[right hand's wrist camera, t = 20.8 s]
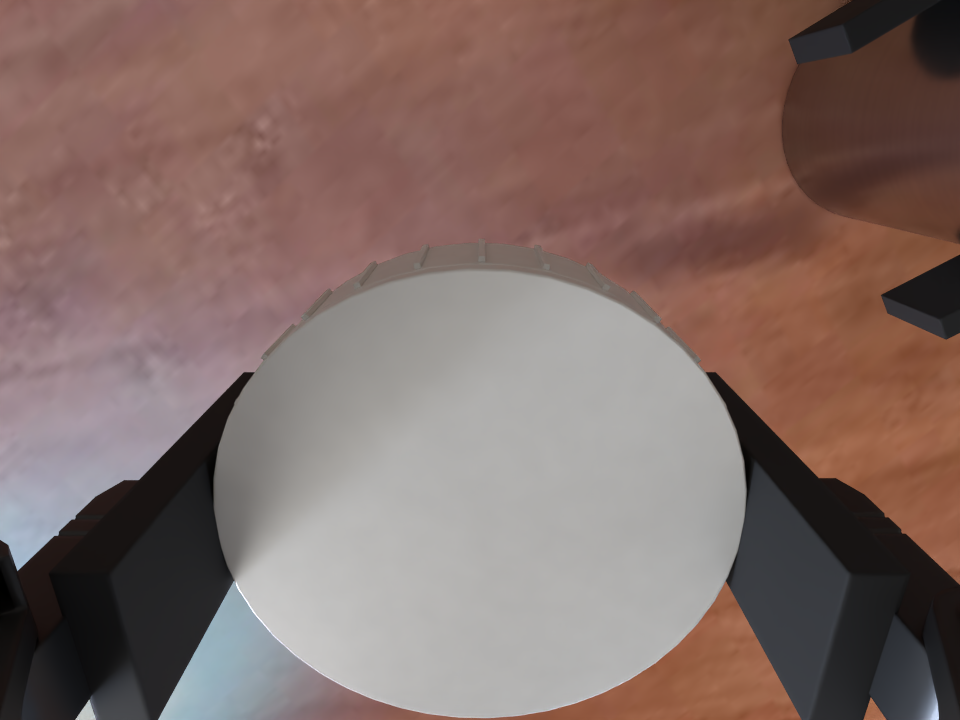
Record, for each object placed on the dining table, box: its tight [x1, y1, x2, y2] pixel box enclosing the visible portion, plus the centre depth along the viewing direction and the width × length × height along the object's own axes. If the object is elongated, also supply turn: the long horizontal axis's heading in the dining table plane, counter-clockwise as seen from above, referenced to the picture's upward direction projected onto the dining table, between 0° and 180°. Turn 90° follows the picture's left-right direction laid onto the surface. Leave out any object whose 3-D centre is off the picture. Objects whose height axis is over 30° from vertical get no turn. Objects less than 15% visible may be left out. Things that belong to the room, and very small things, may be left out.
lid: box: [213, 239, 747, 718], centre depth 11 cm, size 9×9×2 cm
